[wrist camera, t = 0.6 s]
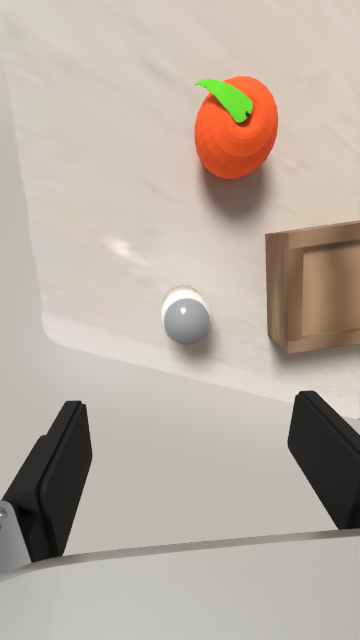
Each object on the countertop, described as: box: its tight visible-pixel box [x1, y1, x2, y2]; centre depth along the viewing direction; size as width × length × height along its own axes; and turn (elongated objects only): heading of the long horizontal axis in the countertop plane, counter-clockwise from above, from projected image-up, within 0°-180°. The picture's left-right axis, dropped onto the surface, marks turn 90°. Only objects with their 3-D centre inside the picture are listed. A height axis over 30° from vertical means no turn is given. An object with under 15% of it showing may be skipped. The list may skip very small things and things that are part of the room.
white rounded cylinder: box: [161, 285, 212, 344], centre depth 27 cm, size 5×5×6 cm
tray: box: [265, 220, 360, 354], centre depth 27 cm, size 12×12×6 cm
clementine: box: [195, 76, 278, 179], centre depth 21 cm, size 8×7×7 cm
